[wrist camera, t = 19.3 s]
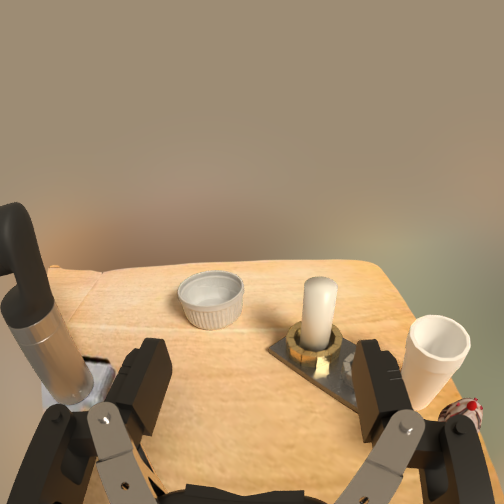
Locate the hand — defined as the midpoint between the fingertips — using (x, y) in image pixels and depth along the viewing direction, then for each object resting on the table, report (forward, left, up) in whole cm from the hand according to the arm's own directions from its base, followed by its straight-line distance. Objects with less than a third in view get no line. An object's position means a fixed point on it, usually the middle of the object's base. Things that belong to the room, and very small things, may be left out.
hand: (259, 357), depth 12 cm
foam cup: (+3, +28, -30) cm, 42 cm away
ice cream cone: (+11, +18, -30) cm, 37 cm away
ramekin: (-38, +19, -30) cm, 52 cm away
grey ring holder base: (-12, +25, -30) cm, 41 cm away
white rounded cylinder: (-16, +25, -29) cm, 42 cm away
